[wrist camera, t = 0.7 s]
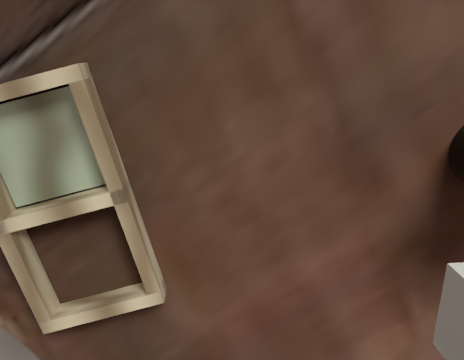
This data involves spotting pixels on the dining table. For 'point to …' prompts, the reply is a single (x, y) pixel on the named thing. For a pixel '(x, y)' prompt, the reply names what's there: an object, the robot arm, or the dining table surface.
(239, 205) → the dining table surface
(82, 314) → the condiment rack
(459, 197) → the dining table surface
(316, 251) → the dining table surface
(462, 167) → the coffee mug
